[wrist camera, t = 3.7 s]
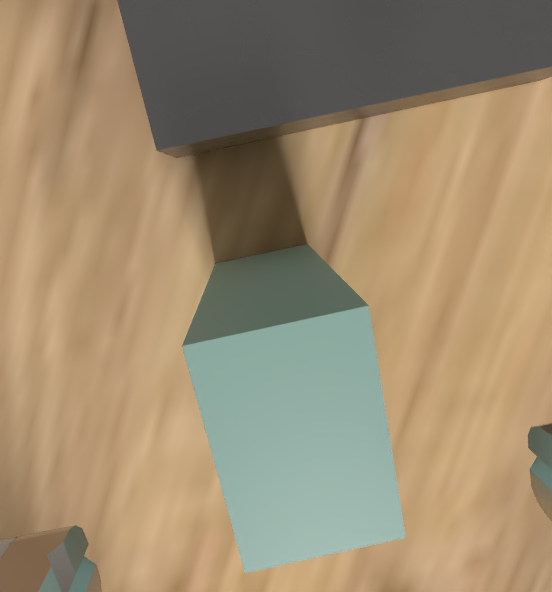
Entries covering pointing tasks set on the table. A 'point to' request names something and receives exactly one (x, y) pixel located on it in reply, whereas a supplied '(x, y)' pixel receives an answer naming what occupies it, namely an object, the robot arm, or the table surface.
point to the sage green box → (293, 408)
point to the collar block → (320, 61)
